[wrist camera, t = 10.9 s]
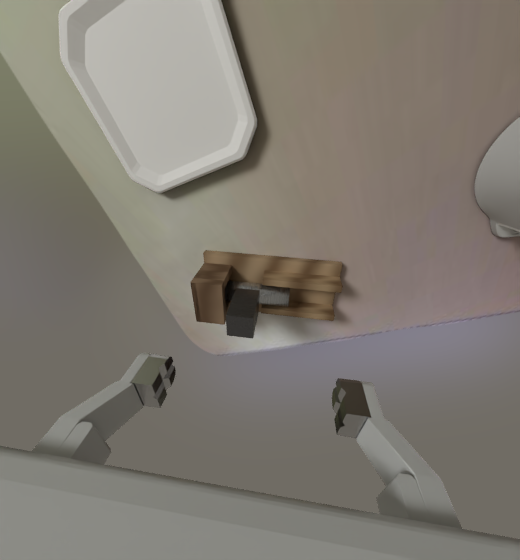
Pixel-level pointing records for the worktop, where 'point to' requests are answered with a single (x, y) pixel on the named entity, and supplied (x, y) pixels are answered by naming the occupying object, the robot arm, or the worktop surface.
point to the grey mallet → (250, 305)
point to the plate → (160, 85)
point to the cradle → (268, 271)
